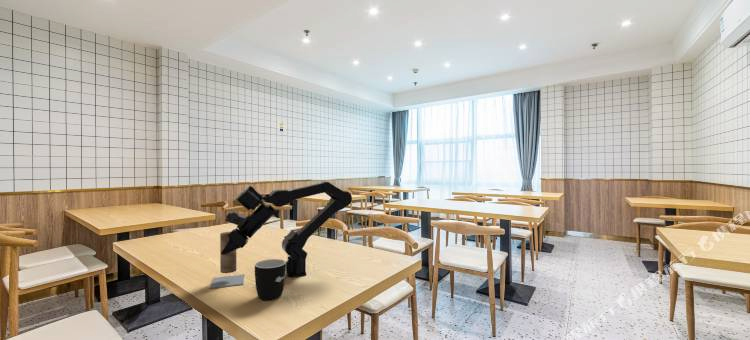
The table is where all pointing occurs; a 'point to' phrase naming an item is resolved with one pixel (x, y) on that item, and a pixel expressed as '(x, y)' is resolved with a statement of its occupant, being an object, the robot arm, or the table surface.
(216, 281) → the mat
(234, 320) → the table surface
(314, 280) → the table surface
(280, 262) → the mug
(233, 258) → the post
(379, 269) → the table surface
